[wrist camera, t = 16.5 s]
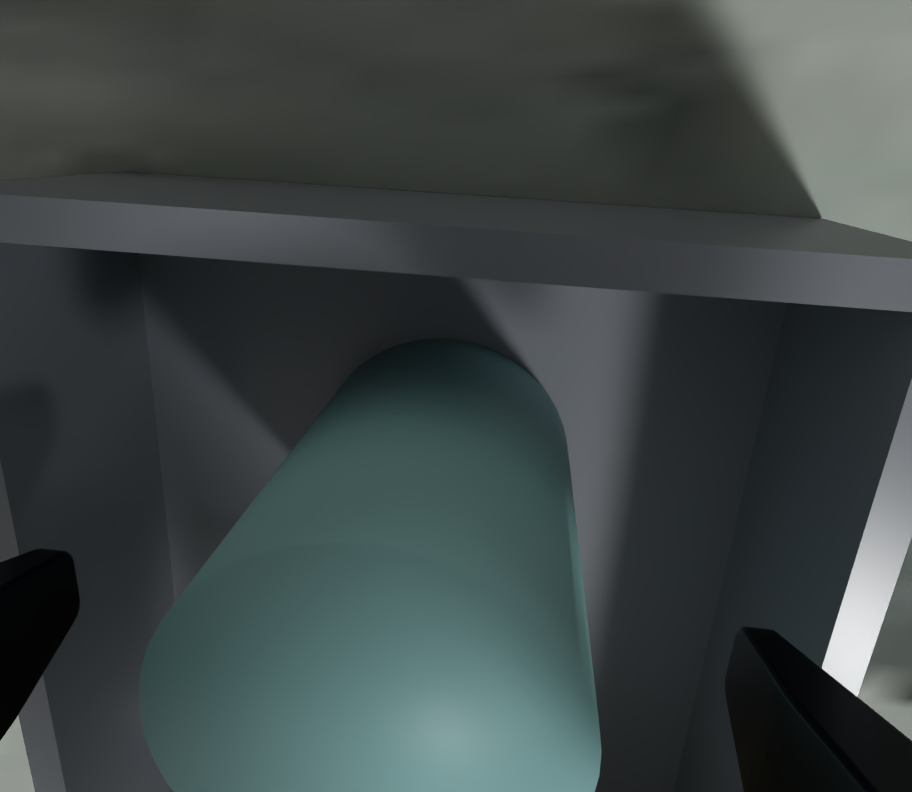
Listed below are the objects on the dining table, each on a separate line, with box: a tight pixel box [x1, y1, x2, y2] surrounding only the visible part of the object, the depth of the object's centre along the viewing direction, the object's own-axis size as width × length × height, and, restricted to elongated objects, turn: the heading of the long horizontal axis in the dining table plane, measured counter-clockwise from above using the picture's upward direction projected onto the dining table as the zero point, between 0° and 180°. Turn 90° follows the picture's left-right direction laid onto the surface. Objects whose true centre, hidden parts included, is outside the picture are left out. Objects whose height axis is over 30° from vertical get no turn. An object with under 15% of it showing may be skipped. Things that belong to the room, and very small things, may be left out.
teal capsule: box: [139, 339, 602, 792], centre depth 11 cm, size 5×5×7 cm
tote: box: [0, 172, 912, 792], centre depth 13 cm, size 17×13×5 cm
